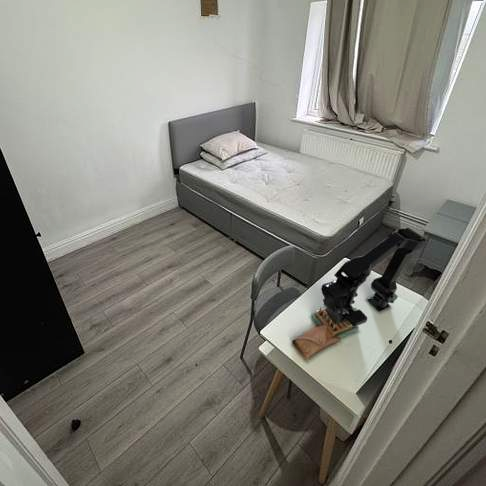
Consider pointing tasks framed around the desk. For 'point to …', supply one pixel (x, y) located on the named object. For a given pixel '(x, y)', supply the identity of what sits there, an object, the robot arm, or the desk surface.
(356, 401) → the desk surface
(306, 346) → the sunglasses case
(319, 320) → the wooden peg rack
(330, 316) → the black box
